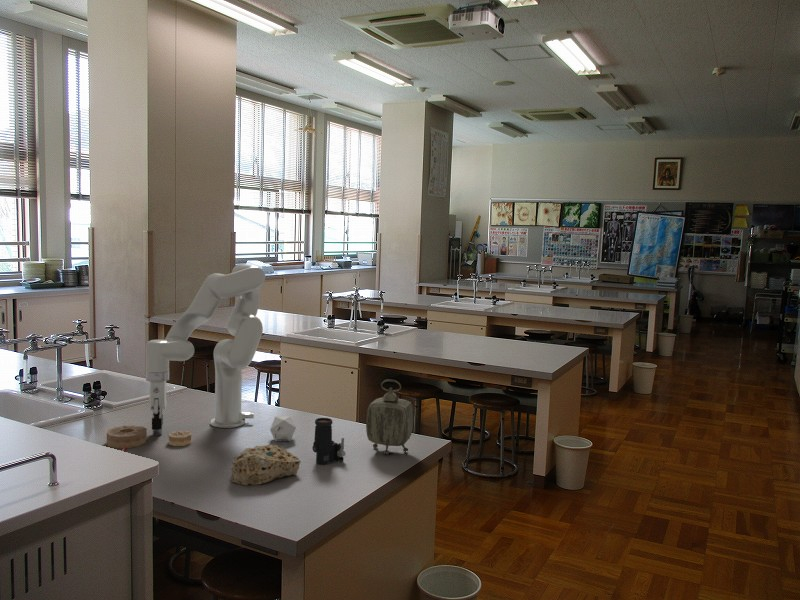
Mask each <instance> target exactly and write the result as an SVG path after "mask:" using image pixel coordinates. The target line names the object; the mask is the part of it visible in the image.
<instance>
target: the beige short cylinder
mask: <svg viewBox="0 0 800 600" xmlns="http://www.w3.org/2000/svg"><path fill="white" fill-rule="evenodd" d="M191 444H192V431H188V430H176V431H172V432H170V433H168V446H173V447H184V446H188V445H191Z"/></svg>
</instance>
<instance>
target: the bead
mask: <svg viewBox="0 0 800 600" xmlns="http://www.w3.org/2000/svg"><path fill="white" fill-rule="evenodd" d="M147 433H148V431H147V428H146V427H145V426H142V425H136V424H133V425H132V424H130V425H129V424H128V425H120V426H114V427H112V428H110V429H108V430H107V432H106V446H108V447H110V448H113V449H123V446H126V449H132V448H136V447H140V446H142V444H143V445H144V444H146V443H147V441H148V440H147V439H148V438H147V435H148V434H147ZM115 447H116V448H115Z"/></svg>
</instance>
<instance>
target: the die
mask: <svg viewBox="0 0 800 600" xmlns="http://www.w3.org/2000/svg"><path fill="white" fill-rule="evenodd" d="M296 428H297V427H296V425H295V423H294V420H293V418H292V417H291V416H290V415H287V416H286V415H283V416H274V419H273V421H272V423H271V425H270V428H269V430H270V433H271V436H272V438H273V440H274V442H290V441H292V439H293V437H294V434H295V432H296Z"/></svg>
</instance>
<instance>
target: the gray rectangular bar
mask: <svg viewBox="0 0 800 600" xmlns="http://www.w3.org/2000/svg"><path fill="white" fill-rule="evenodd" d="M158 403H159V400H158ZM158 409H160V408H158ZM158 412H159V411H158ZM162 414H163V409H161V418H162ZM151 432H152V436H153V437H159V436H158V435H161V436H162V435H163V428H162V429H160V430H152V429H151Z"/></svg>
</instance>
